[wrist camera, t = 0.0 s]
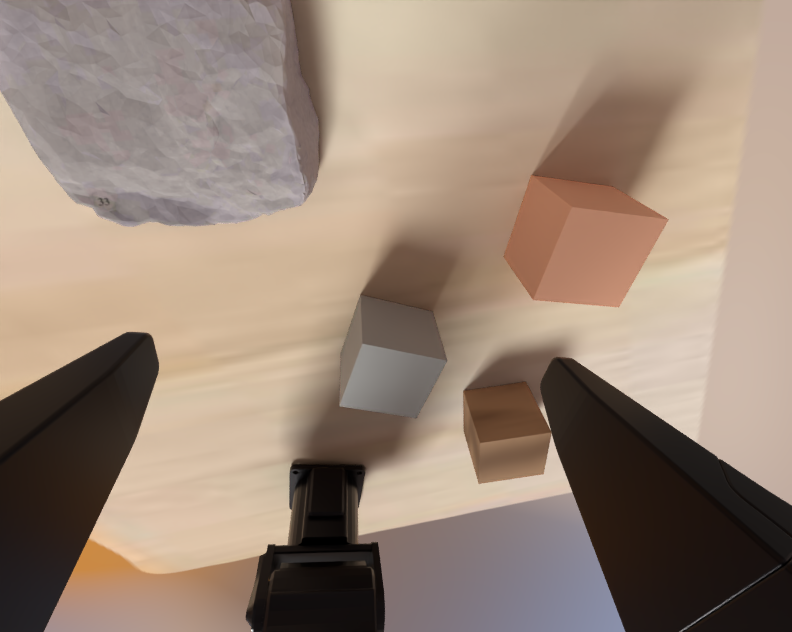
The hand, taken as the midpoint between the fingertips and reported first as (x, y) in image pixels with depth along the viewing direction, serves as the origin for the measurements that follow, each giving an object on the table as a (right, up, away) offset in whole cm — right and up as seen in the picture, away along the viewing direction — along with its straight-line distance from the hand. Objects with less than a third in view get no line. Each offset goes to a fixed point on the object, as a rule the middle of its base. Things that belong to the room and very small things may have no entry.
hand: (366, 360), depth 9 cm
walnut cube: (+9, -6, +24) cm, 26 cm away
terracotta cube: (+10, +7, +15) cm, 19 cm away
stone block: (-9, +11, +10) cm, 17 cm away
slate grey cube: (0, 0, +18) cm, 18 cm away
